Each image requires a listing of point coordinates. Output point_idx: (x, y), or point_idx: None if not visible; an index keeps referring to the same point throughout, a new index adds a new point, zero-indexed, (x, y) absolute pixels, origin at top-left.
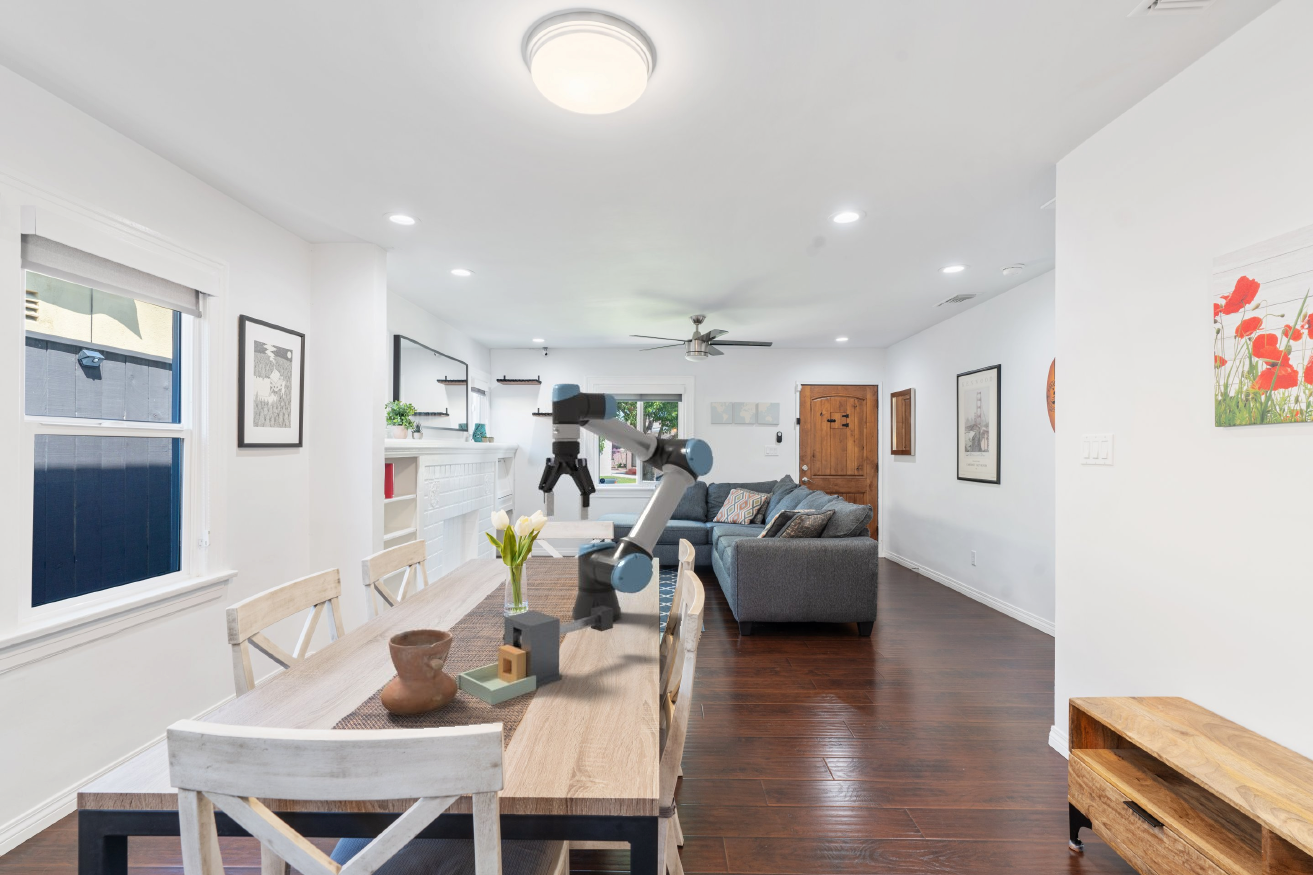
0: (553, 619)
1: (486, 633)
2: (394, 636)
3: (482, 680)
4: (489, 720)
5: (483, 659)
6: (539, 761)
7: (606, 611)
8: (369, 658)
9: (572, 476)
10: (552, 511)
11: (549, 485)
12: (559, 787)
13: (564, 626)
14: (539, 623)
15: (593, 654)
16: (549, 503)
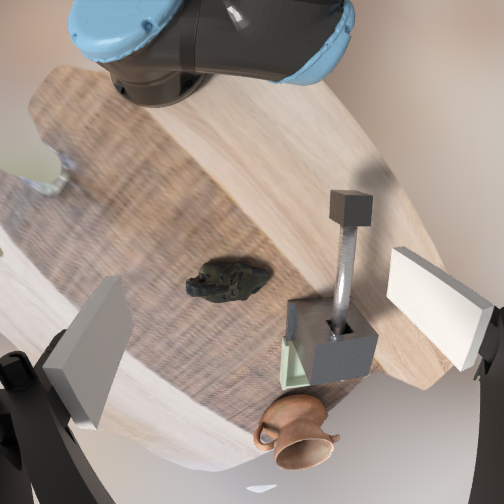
0: (373, 343)
1: (111, 269)
2: (280, 466)
3: (289, 362)
4: (358, 380)
5: (219, 329)
6: (420, 372)
7: (370, 213)
8: (130, 400)
9: (480, 500)
10: (115, 297)
11: (97, 479)
12: (440, 372)
13: (349, 297)
14: (369, 363)
15: (320, 208)
16: (107, 353)
